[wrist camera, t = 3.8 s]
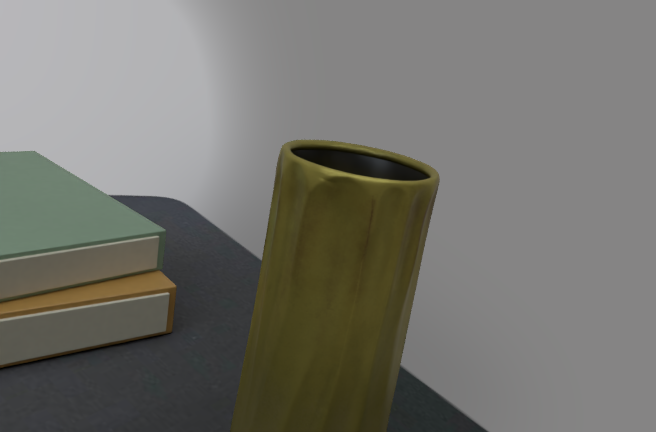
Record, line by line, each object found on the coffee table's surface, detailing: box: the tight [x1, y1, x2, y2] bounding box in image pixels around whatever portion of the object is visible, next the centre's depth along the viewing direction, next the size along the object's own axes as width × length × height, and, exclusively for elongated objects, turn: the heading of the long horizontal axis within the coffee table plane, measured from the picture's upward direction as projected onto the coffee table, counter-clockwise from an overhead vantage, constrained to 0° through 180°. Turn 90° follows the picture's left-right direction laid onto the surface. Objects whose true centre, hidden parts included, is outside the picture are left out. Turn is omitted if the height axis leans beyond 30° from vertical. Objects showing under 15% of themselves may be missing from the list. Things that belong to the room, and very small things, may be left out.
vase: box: [230, 140, 439, 432], centre depth 21 cm, size 6×6×14 cm
